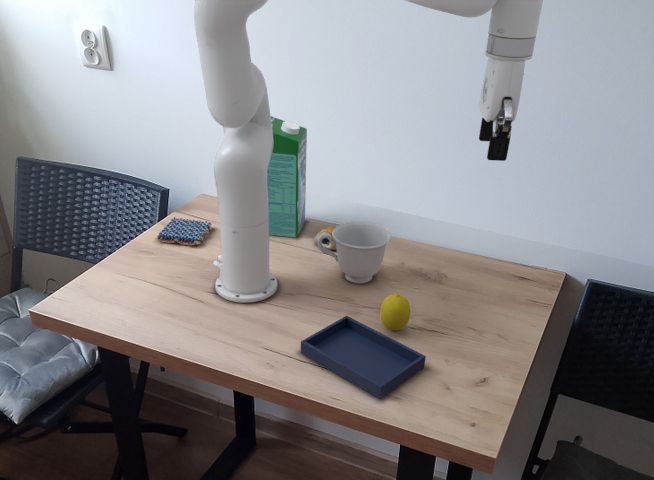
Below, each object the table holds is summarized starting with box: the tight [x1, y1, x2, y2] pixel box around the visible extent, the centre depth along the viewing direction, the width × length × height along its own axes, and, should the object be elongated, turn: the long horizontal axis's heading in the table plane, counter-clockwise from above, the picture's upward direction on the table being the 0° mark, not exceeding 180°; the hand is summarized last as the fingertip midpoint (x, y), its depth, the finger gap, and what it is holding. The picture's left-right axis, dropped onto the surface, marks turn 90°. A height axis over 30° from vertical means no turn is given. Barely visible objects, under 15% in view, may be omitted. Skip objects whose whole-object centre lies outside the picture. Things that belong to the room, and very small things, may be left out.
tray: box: [300, 315, 427, 400], centre depth 123 cm, size 18×12×3 cm
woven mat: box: [156, 216, 213, 246], centre depth 162 cm, size 10×11×2 cm
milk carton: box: [267, 115, 308, 239], centre depth 160 cm, size 9×9×25 cm
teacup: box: [317, 220, 392, 284], centre depth 145 cm, size 12×15×10 cm
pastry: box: [314, 226, 337, 251], centre depth 160 cm, size 9×7×4 cm
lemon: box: [379, 293, 411, 332], centre depth 129 cm, size 6×6×8 cm
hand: (491, 150), depth 123 cm, fingers open, 9 cm apart
